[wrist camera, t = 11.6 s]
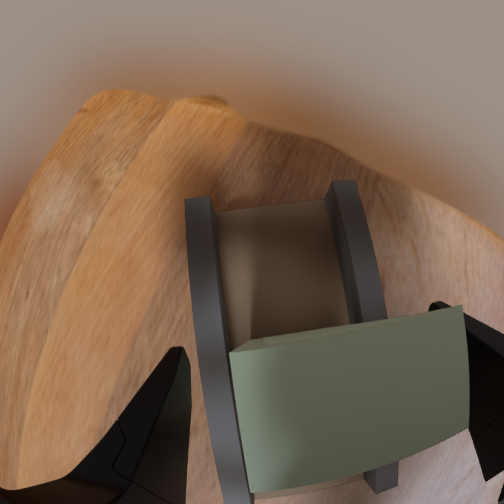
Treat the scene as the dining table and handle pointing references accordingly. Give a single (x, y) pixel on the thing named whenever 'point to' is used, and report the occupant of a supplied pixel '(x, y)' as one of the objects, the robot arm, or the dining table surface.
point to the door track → (275, 302)
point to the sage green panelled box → (349, 397)
